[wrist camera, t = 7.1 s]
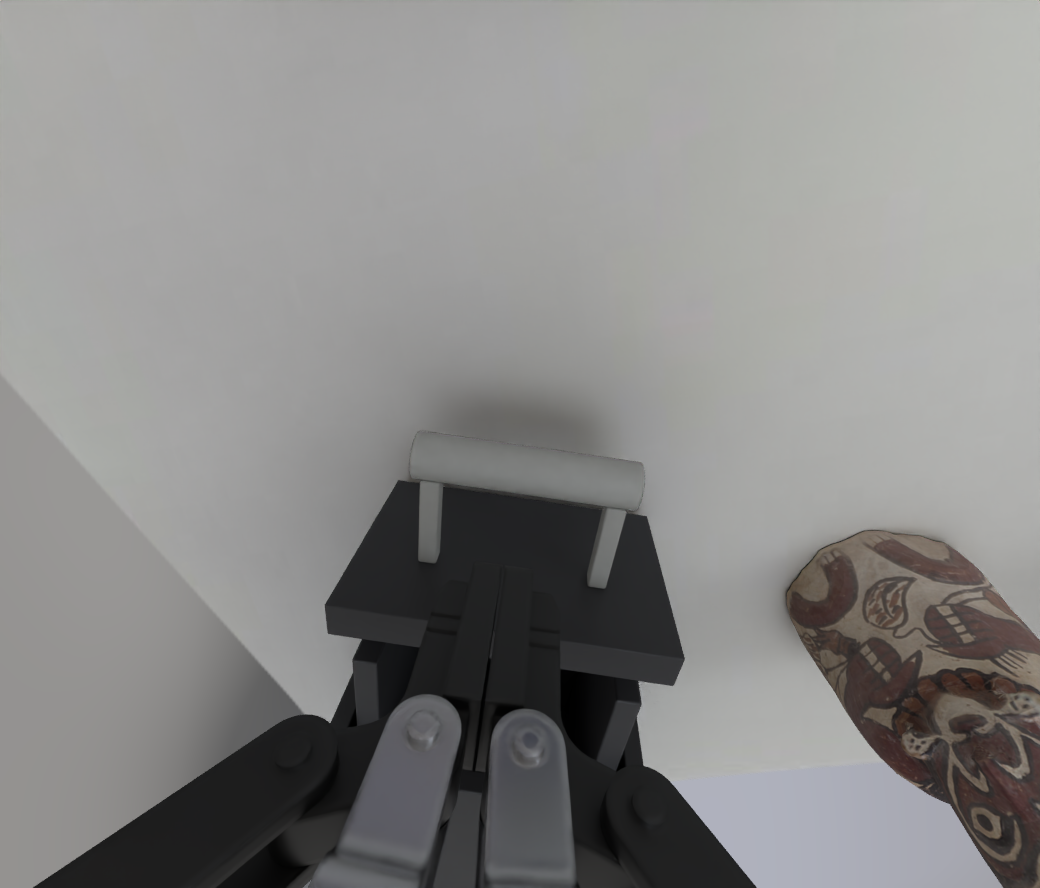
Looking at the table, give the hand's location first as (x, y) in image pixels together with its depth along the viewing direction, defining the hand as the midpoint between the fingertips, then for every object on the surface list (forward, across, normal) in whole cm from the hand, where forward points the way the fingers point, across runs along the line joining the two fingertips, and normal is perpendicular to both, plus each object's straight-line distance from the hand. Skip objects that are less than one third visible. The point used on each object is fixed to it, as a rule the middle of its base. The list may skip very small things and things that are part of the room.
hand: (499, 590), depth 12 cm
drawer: (+7, 0, +6) cm, 9 cm away
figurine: (+8, -16, +5) cm, 19 cm away
